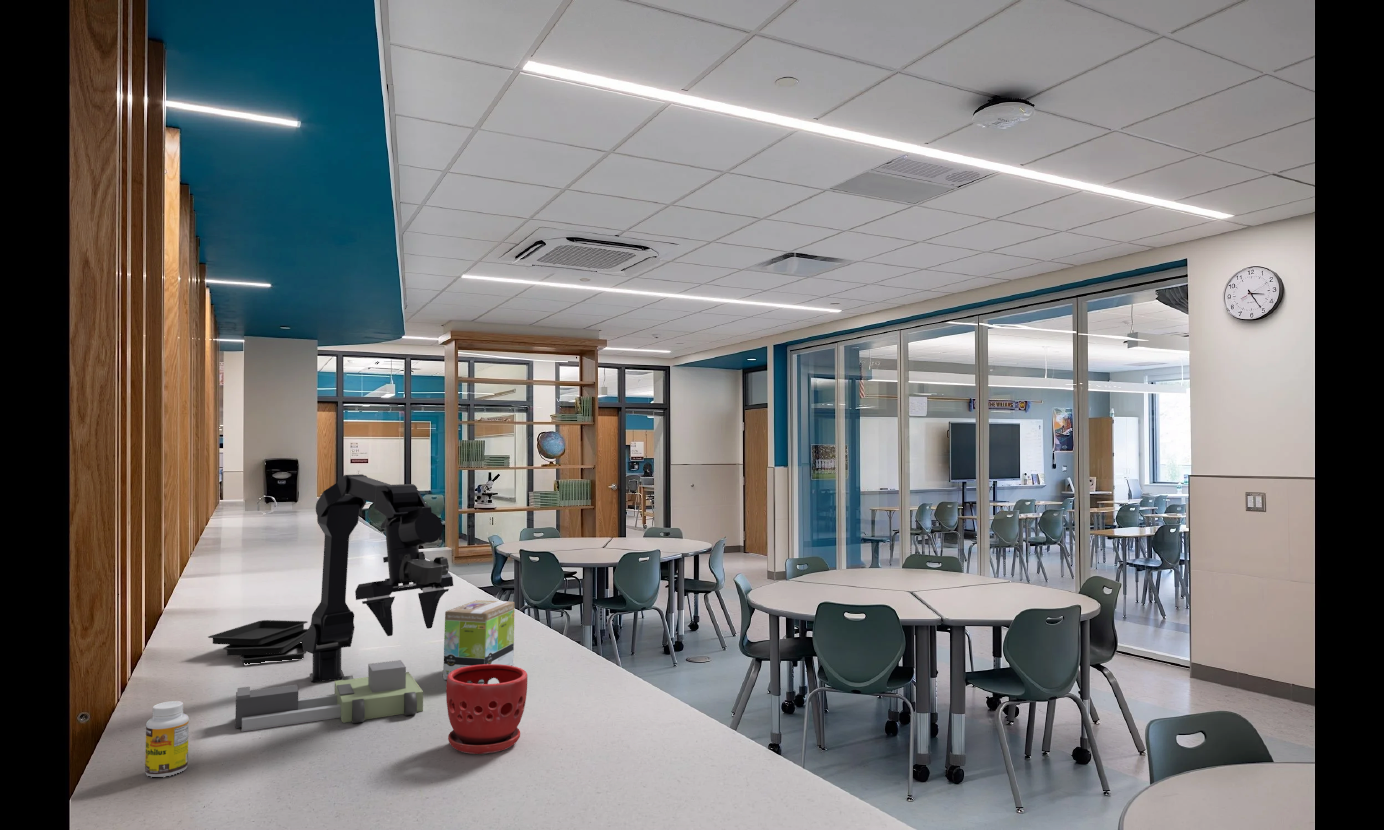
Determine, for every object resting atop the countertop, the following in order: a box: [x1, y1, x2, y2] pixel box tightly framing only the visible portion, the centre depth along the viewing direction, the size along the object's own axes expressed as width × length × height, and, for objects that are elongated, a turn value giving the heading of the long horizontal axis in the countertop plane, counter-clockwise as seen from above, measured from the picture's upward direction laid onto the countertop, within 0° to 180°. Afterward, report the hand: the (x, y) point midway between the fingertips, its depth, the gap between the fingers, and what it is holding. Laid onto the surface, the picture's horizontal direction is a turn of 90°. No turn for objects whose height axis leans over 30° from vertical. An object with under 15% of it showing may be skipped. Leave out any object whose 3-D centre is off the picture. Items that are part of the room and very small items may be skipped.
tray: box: [207, 619, 309, 664], centre depth 205 cm, size 30×23×5 cm
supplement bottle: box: [144, 700, 190, 778], centre depth 128 cm, size 6×6×10 cm
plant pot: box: [445, 664, 528, 755], centre depth 139 cm, size 13×13×12 cm
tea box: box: [442, 599, 515, 683], centre depth 185 cm, size 15×10×15 cm
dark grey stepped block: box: [234, 684, 299, 729], centre depth 152 cm, size 6×10×6 cm, turn 118°
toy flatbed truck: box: [241, 659, 424, 732], centre depth 158 cm, size 22×30×8 cm
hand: (410, 631), depth 158 cm, fingers open, 9 cm apart
